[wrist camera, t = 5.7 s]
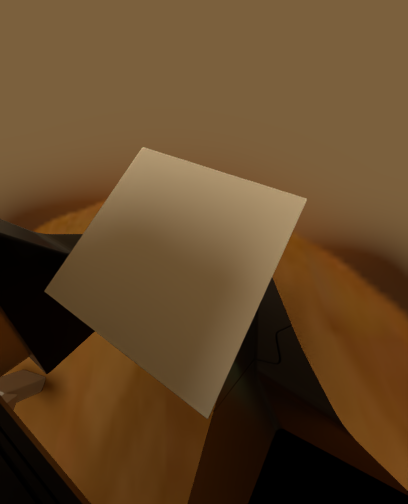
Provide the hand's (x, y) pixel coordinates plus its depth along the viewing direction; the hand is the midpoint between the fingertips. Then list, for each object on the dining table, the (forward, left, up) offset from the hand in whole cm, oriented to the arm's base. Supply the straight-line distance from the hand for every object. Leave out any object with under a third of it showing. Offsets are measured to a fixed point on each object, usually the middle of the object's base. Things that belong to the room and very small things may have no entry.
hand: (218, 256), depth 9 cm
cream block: (-1, -1, -7) cm, 7 cm away
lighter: (-28, -1, -14) cm, 31 cm away
